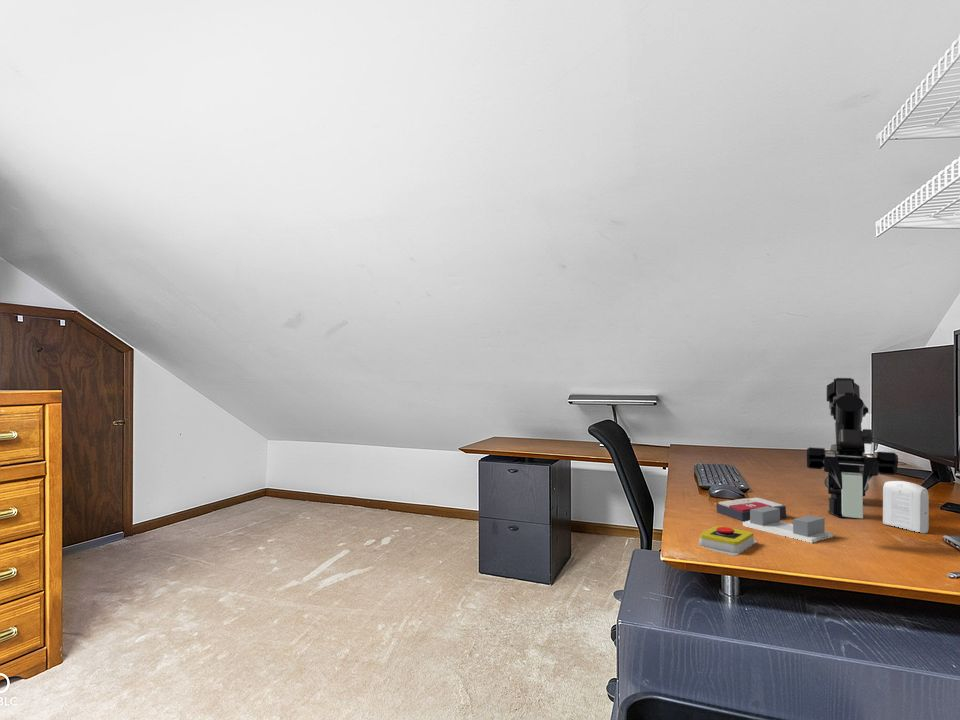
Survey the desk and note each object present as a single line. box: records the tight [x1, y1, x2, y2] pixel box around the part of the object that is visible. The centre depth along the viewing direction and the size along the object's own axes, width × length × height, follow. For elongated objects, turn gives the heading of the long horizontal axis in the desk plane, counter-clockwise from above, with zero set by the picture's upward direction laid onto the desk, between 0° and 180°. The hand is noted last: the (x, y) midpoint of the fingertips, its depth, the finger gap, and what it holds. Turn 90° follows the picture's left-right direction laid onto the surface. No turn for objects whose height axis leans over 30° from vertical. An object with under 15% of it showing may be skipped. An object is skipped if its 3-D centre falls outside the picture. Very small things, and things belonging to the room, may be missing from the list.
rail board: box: [742, 506, 834, 544], centre depth 147 cm, size 18×10×4 cm, turn 32°
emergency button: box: [698, 525, 758, 557], centre depth 135 cm, size 9×4×15 cm
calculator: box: [716, 497, 787, 523], centre depth 163 cm, size 11×4×15 cm
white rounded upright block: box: [882, 480, 930, 534], centre depth 150 cm, size 10×4×12 cm, turn 23°
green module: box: [841, 472, 864, 519], centre depth 136 cm, size 4×4×10 cm
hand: (852, 489), depth 135 cm, fingers closed on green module, 4 cm apart
